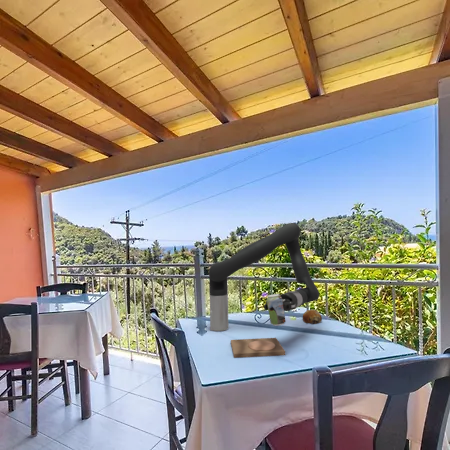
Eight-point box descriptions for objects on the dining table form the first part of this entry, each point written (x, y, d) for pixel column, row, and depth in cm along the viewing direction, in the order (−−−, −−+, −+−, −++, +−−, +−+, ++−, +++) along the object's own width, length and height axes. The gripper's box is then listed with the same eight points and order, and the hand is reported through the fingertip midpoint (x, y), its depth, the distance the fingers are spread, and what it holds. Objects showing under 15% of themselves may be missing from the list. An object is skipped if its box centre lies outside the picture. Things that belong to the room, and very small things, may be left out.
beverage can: (285, 327, 118) (284, 296, 119) (266, 326, 120) (265, 295, 121) (286, 322, 125) (285, 293, 125) (268, 322, 126) (267, 292, 127)
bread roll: (322, 327, 165) (322, 312, 168) (321, 323, 156) (321, 308, 160) (303, 326, 168) (303, 311, 172) (301, 322, 160) (301, 307, 163)
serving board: (234, 357, 118) (233, 353, 118) (230, 343, 134) (230, 339, 134) (285, 355, 119) (285, 350, 119) (276, 341, 135) (275, 337, 135)
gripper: (276, 290, 140) (254, 296, 127) (304, 293, 131) (283, 301, 118) (277, 306, 140) (254, 314, 127) (305, 311, 131) (284, 320, 118)
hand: (268, 308), depth 123 cm, fingers closed on beverage can, 3 cm apart
